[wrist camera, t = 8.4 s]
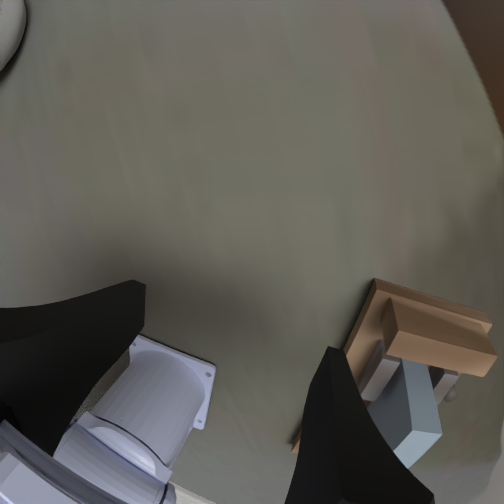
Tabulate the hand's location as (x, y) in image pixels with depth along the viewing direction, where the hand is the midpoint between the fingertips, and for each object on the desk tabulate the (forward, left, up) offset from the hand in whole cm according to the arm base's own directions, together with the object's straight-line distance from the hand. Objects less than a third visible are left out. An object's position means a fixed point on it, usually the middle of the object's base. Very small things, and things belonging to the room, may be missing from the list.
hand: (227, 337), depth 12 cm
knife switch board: (-9, -11, -9) cm, 17 cm away
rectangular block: (-9, -11, -8) cm, 16 cm away
